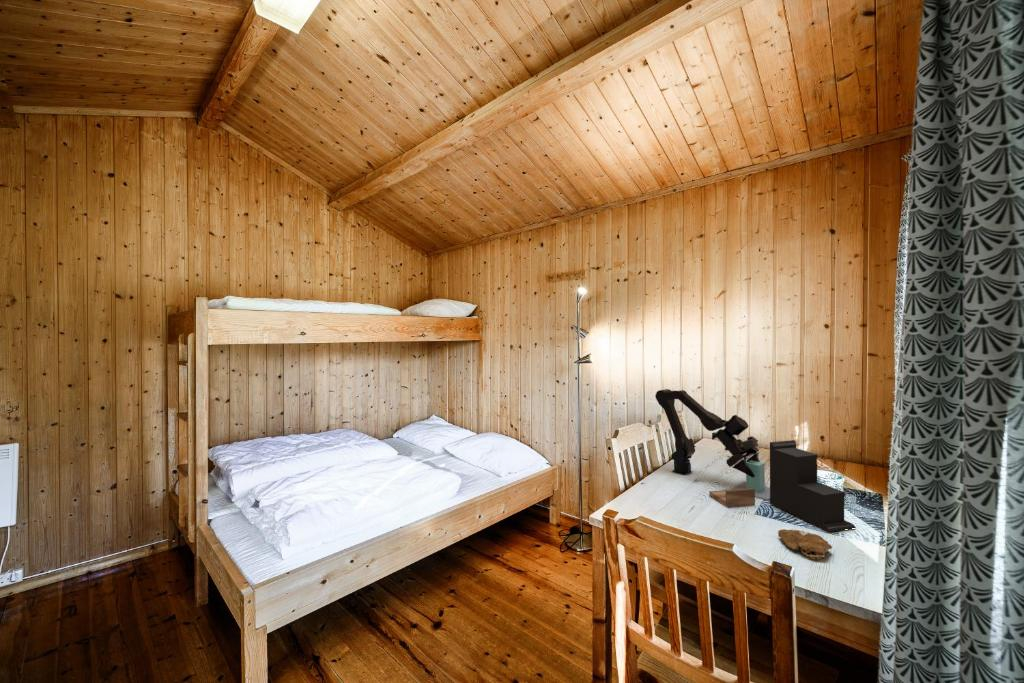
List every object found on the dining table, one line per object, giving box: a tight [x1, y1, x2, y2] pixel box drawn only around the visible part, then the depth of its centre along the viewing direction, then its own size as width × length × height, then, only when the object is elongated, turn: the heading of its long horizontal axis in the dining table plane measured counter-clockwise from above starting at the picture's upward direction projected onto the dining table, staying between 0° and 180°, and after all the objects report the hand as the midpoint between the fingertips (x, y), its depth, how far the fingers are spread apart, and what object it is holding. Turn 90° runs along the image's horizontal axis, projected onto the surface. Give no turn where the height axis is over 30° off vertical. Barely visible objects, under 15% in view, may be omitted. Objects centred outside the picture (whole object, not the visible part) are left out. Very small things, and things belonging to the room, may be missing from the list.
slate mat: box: [731, 481, 770, 501], centre depth 166 cm, size 14×14×1 cm
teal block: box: [745, 460, 766, 493], centre depth 166 cm, size 5×5×11 cm
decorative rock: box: [777, 528, 833, 560], centre depth 121 cm, size 11×4×15 cm
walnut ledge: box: [709, 488, 756, 508], centre depth 157 cm, size 11×11×6 cm
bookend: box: [769, 439, 857, 533], centre depth 143 cm, size 23×11×24 cm, turn 11°
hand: (758, 474), depth 165 cm, fingers open, 9 cm apart
